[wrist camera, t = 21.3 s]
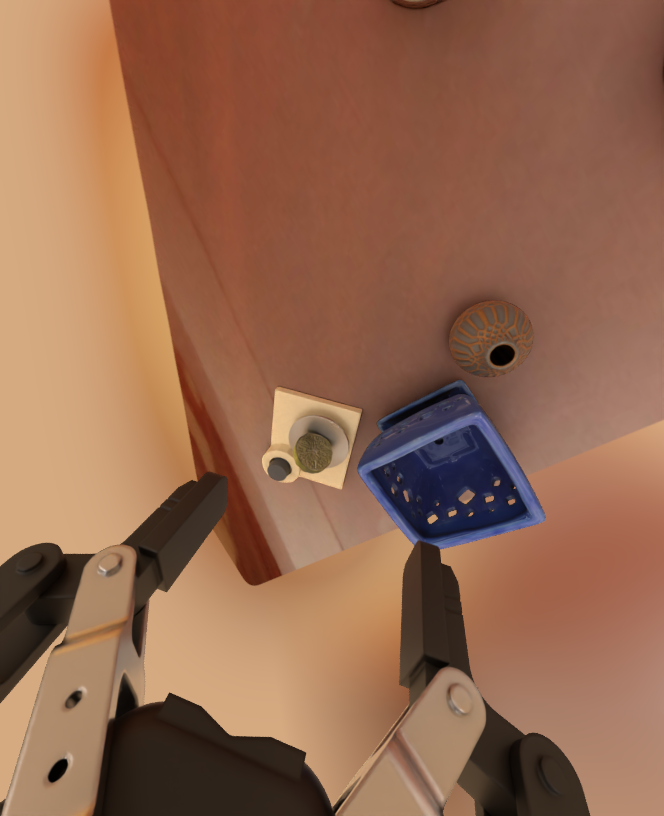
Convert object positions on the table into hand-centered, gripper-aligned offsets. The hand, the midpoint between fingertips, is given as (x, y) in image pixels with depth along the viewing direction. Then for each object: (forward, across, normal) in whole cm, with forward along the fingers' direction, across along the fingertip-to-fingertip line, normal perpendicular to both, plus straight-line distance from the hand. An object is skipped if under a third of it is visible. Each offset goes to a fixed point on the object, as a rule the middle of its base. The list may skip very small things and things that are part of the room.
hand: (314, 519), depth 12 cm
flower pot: (+26, -10, +9) cm, 30 cm away
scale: (+26, +6, +16) cm, 31 cm away
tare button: (+23, +10, +21) cm, 33 cm away
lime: (+23, +4, +14) cm, 27 cm away
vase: (+26, -10, -4) cm, 28 cm away
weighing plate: (+23, +4, +14) cm, 27 cm away
